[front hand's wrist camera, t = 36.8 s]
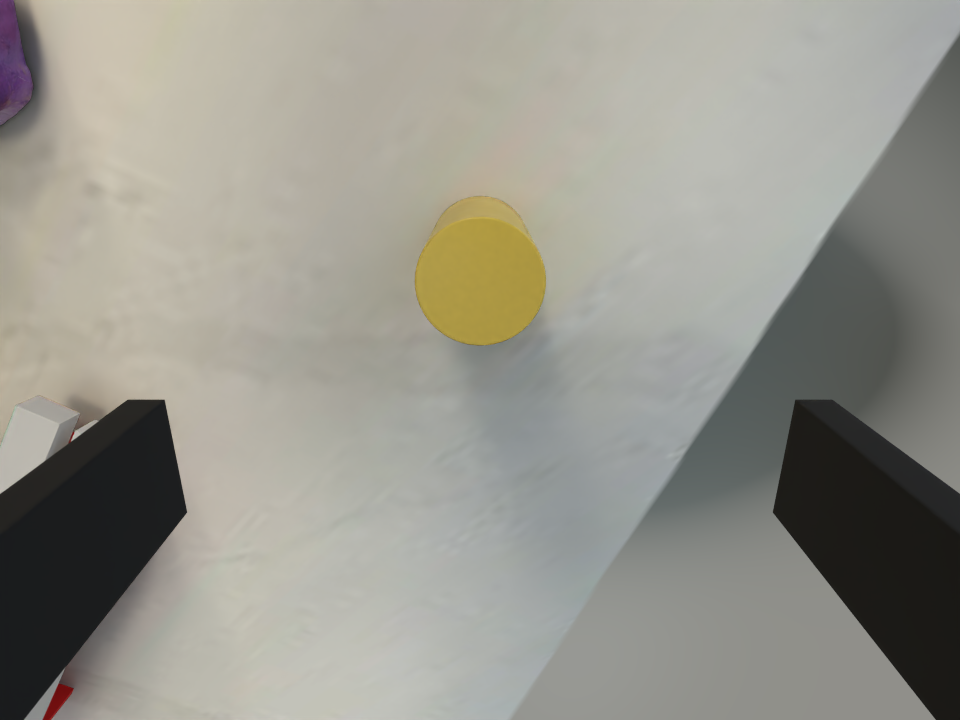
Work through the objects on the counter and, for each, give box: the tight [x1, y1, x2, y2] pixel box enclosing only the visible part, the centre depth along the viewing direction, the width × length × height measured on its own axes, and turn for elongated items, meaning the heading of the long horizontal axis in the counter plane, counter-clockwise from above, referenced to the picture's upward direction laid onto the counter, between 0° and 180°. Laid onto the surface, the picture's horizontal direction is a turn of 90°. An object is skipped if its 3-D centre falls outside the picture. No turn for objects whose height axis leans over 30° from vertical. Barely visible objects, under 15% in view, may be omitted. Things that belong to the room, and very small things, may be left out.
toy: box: [0, 395, 98, 720], centre depth 41 cm, size 12×13×30 cm
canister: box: [415, 196, 546, 345], centre depth 33 cm, size 6×6×10 cm
